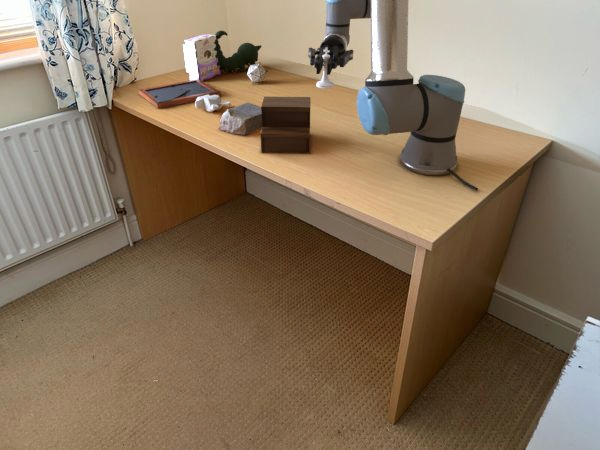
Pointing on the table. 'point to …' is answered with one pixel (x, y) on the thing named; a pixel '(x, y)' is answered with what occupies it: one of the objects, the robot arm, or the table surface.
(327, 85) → the chess piece
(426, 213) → the table surface
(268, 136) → the step shelf
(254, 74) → the game die
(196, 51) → the candy box
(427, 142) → the robot arm
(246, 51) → the toy figurine
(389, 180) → the table surface
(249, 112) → the geological specimen
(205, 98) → the bunny figurine
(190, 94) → the picture frame
